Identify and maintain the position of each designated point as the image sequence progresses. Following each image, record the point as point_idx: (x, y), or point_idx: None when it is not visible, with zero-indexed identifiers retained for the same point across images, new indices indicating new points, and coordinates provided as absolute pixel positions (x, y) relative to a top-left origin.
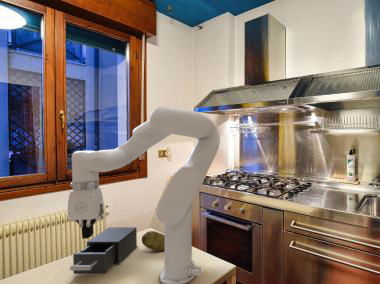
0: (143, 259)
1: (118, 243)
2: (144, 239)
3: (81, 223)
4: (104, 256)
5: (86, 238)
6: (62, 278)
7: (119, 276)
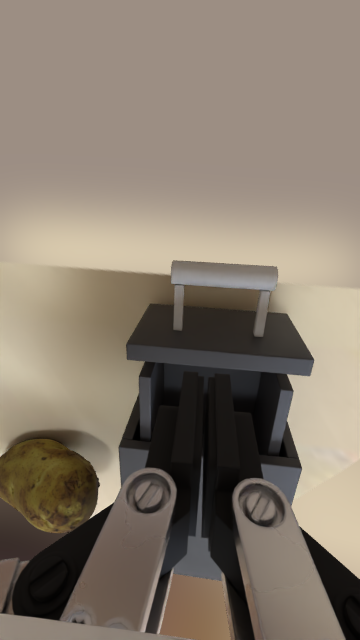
0: (71, 395)
1: (122, 439)
2: (70, 484)
3: (261, 544)
4: (132, 337)
5: (189, 371)
6: (325, 300)
7: (93, 294)
